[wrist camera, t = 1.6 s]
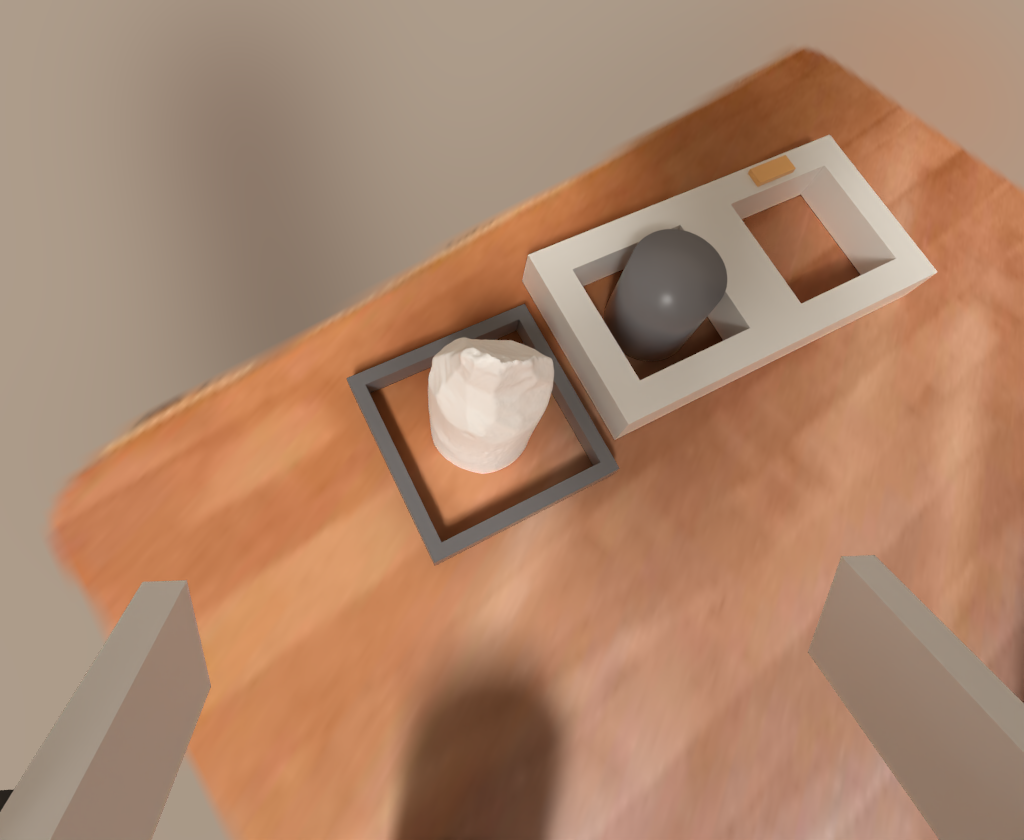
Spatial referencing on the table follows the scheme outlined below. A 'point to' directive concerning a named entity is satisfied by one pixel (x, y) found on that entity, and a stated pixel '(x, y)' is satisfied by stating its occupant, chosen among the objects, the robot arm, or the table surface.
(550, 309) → the block
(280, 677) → the table surface
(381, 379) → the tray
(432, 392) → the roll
